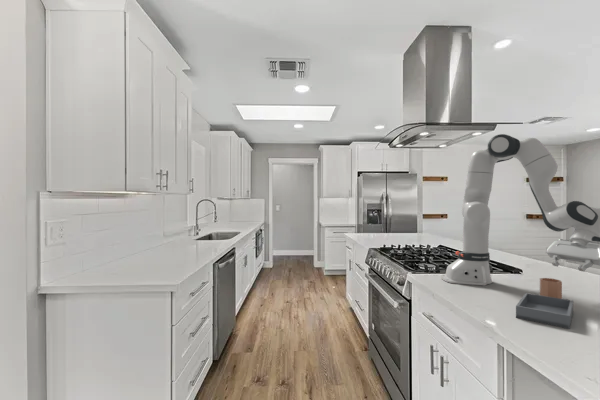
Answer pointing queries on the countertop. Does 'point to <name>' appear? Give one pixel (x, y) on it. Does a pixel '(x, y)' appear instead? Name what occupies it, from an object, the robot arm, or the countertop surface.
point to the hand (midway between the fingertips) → (567, 267)
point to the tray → (545, 310)
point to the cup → (551, 287)
